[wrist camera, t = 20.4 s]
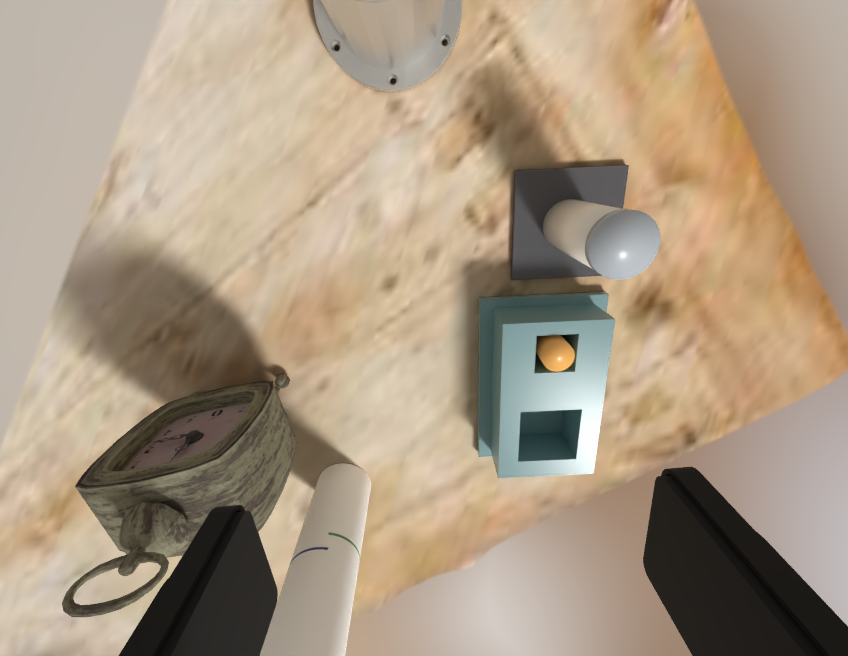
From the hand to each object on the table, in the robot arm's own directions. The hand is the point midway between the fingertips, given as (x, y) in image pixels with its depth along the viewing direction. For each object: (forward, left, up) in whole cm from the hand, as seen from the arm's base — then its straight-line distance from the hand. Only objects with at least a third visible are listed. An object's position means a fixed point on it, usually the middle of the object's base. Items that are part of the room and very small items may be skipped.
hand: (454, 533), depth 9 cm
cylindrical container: (+31, -12, -35) cm, 48 cm away
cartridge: (-2, +15, -34) cm, 38 cm away
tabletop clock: (+18, -22, -35) cm, 45 cm away
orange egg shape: (+10, +13, -33) cm, 36 cm away
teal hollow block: (+16, +13, -35) cm, 40 cm away
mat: (-2, +15, -35) cm, 38 cm away
